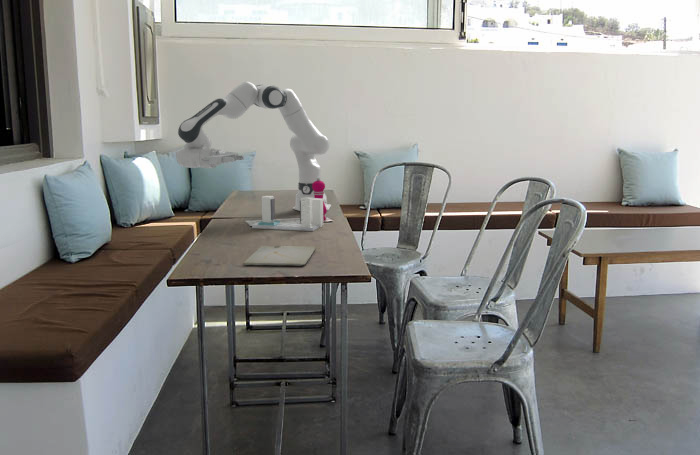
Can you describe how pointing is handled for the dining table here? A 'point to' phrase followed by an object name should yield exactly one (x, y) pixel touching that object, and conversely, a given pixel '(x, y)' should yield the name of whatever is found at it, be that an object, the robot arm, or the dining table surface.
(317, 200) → the block
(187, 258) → the dining table surface
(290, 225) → the rail
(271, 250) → the decorative slab
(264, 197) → the tall white upright block
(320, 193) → the pepper mill
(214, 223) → the dining table surface
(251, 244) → the dining table surface
